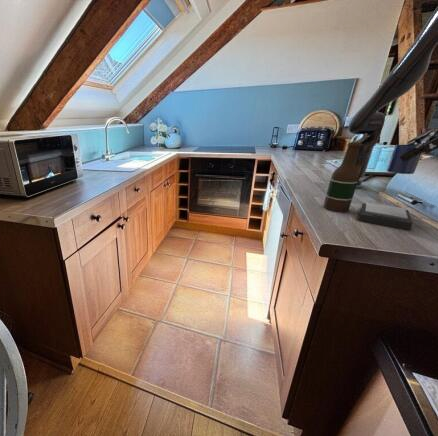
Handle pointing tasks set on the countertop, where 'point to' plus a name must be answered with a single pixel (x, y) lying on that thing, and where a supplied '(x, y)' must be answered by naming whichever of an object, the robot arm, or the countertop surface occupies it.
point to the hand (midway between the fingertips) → (398, 157)
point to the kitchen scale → (385, 215)
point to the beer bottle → (343, 181)
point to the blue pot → (400, 166)
